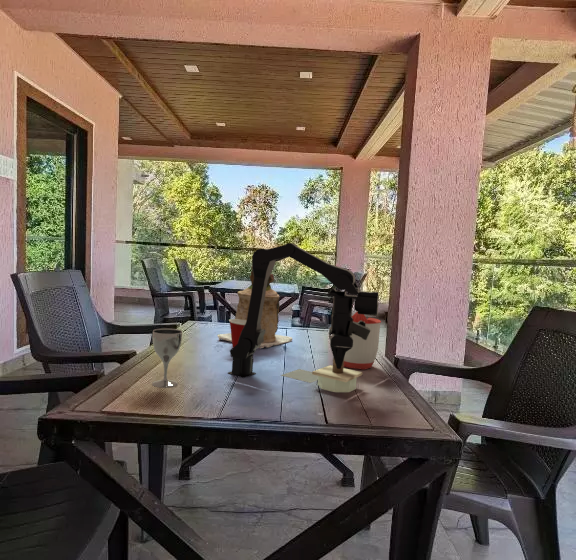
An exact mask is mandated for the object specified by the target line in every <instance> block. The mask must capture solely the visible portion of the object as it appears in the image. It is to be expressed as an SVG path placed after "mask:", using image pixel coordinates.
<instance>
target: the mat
mask: <svg viewBox="0 0 576 560" xmlns="http://www.w3.org/2000/svg"><path fill="white" fill-rule="evenodd" d="M312 372H313V371H310V370H306V369H302V368H298V369H294V370H292V371H290V372H286V373H283V374H281V375H280V376H281V377H285V378H290V379H293V380H298V381H302V382H306V383H309V384H311V383H314V382H318V376H317V375H313V374H312Z"/></svg>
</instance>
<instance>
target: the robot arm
mask: <svg viewBox="0 0 576 560" xmlns="http://www.w3.org/2000/svg"><path fill="white" fill-rule="evenodd" d="M251 258H252V259H251V266H252V269H253V275H254V280H253V285H252V291H251V297H250V303H249V309H248V315H247V321H246V324H245V326H244V328H243V329H242V331H241V334H240V337H239V340H238V344H237V345H236V346H234V347H233V346H232V347H231V349H230V350H229V352H230V357H231V358H232V361H231V362H232V363H231V364H232V365H231V371H229V372H227V374H228V375H231V376H235V377H239V378H243V379H244V378H247V377H251V376H254V375H256V374H257V373H256V372H254V371H253V370H254V369H253V368H254V367H253V366H254V354H255V352H256V351H257V350H258V349H260V348H259V347H260V346H261V343H263V342H264V334H265V331H266V330H264V329H261V317H262V311H263V305H264V299H265V294H266V288H267V282H268V278H269V276H270V274H272V272H273V271H274V268H275V265H276V262H278V261H282V260H285V259H287V258H290V259H293V260H294V261H296V262H298V263H300V264H302V265H303V266H305V267H307V268H309V269H311V270H313V271H315V272H317V273H318V274H320V275H322V276H323V277H324V278H325V279H326V280H327V281H328V282H329V283H330V284H332V285H333V286H334V287H332V289H331V290H330V291H329V292H327V294H326V296H327V297H333V298H332V299H333V301H332V312H331V313H332V314H331V324H330V325H331V326H330V327H329V328H328V336H329V337H328V338H329V346H330V347H329V348H330V350H331V353H332V356H333V357H334V360H335V364H336V367H337V369H341V366H342V363H343V360H344V357H345V354H346V352H347V351H348V350H350V349H351V348H352V347H353V339H352V337H351V336H352V333H353V334H355V335H357V336H359V337H361V338H362V339H364V340H367V337H368V335H369V333H370V331H371V330H370V329H369V328H368V327H366V326H365V322H363V321H361V320H360V321H359V322H358V323H357V322H354V321H353V318H352V316H353V315H352V314H353V310H354V311H355V312H357V311H358V314H364V315H365V316H374V317H375V316H376V317H377V316H378V314H379V291H378V292H377V291H372V292H371V291H362V290H361V289H360V287H359V286H358V284H357V282H356V276H355V273H354V272H353V271H351V270H350V269H346V268H344V267H341V266H338V265H334V264H331V263H329V262H326V261H324V260H323V259H321V258H319V257H318V256H315V255H314V254H312V253H310V252H308V251H306V250H304V249H303V248H300V247H299V246H297V244H295V243H291V242H289V243H288V242H287V243H285V244H283V245H280V246H276V247H275V246H274V247H272V248H258V249H256V250H255V251H253V253H252V257H251ZM336 288H337V289H339V290H337V289H336ZM347 293H349V294H347ZM353 303H354V305H353ZM350 335H351V336H350Z"/></svg>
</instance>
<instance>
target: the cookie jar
mask: <svg viewBox="0 0 576 560" xmlns="http://www.w3.org/2000/svg"><path fill="white" fill-rule="evenodd" d="M250 267H251V272H250V275H249V279H250V283H251V284H250V285H249V286H248V287H246V288H244V289H243V290H239V291H237V297H238V304H237V308H236V313H235V317H234V319H240V320H247V315H248V309H249V303H250V297H251V291H252V285H253V280H254V275H253V269H252V265H251V266H250ZM274 281H275V276H274V274H273V273H271V274H270V276H269V278H268V282H267V288H266V294H265V299H264V305H263V311H262V317H261V329H264V330H266V331H265V334H264V342H263V343H261V346H260V347H259V348H258V349H261V348H263V349H264V348H271V347H273V346H278V345H282V344H285V343H290V342H292V341H293V337H292V336H287V335H281V334H276V333H277V332H278V328H279V327H278V324H279V311H280V307H281V305H280V295H279V294H278V292H277V291H276V290H274V289H273V288H272V285H271V283H273V282H274ZM217 337H218V341H219V340H220V341H221V340H223V341H226V342H227V341H228V342H231V343H232V338H231V332H229V333H221V334H217Z"/></svg>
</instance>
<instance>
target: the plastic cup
mask: <svg viewBox="0 0 576 560" xmlns="http://www.w3.org/2000/svg"><path fill="white" fill-rule="evenodd" d="M228 321H229V326H230V333H231V338H232V342H231V343H232V345H231V346H232V348H233V347H234V346H236V345H237V344H238V340H239V337H240V334H241V331H242V329H243V328H244V326H245V324H246V321H247V320H240V319H235V318H230V319H228Z"/></svg>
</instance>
